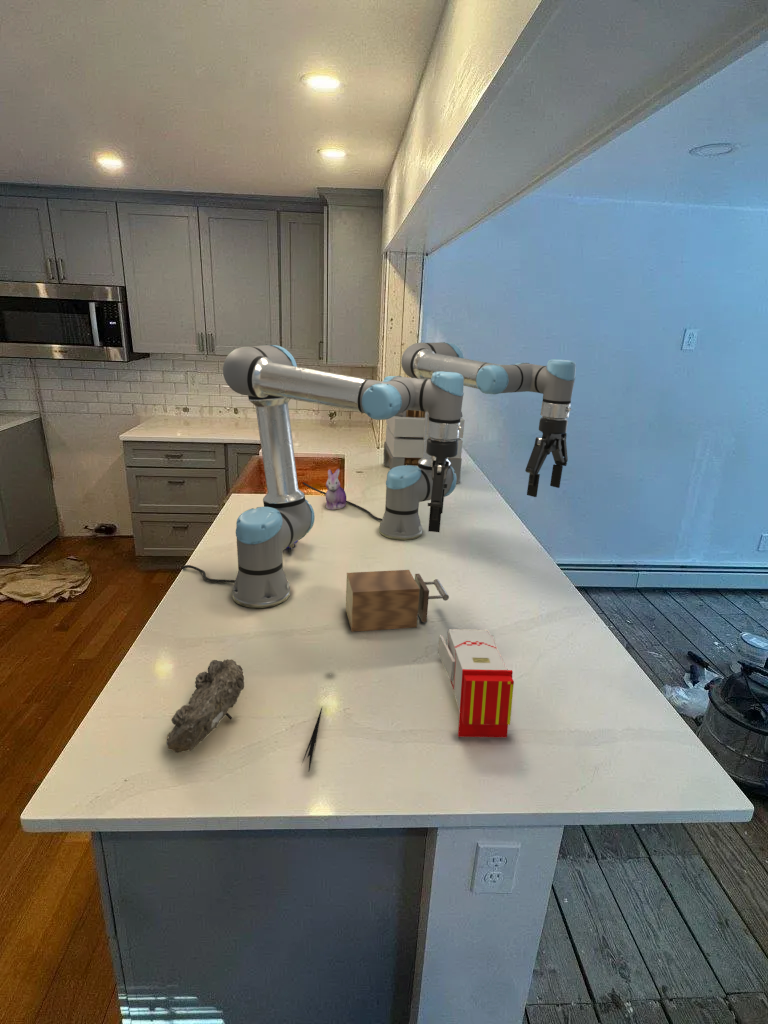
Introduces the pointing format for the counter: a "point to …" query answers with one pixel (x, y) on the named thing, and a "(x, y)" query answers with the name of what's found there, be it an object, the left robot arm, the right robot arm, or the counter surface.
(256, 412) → the left robot arm
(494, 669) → the toy
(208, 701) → the fossil
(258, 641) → the counter surface
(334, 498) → the figurine
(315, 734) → the feather
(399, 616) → the cabinet
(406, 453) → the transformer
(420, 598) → the drawer
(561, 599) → the counter surface
